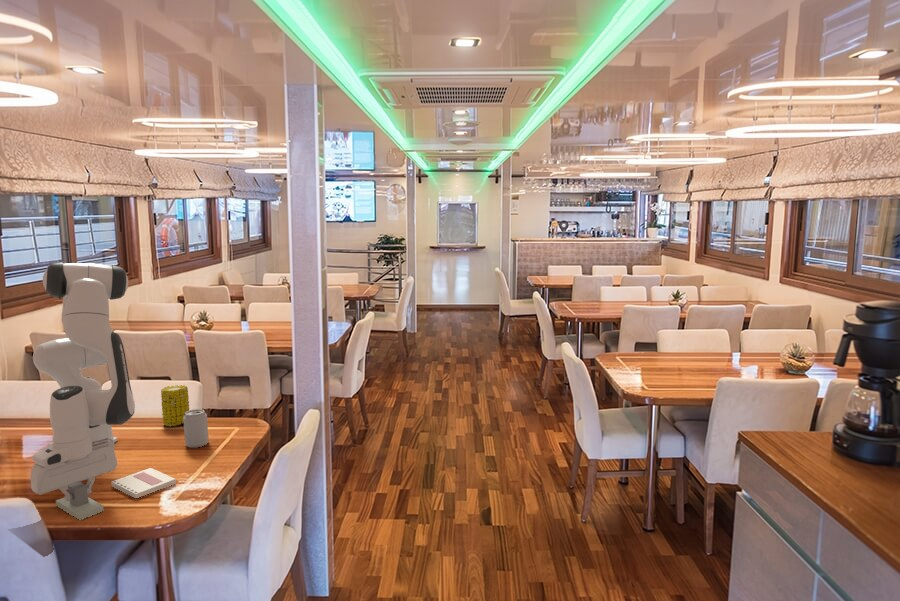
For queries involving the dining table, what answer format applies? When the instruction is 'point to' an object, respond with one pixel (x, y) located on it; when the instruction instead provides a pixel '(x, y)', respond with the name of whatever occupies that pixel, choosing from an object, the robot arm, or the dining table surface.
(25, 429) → the dining table surface
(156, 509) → the dining table surface
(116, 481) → the spiral notepad
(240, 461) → the dining table surface
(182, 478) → the dining table surface
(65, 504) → the stub
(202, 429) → the can
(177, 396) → the food
